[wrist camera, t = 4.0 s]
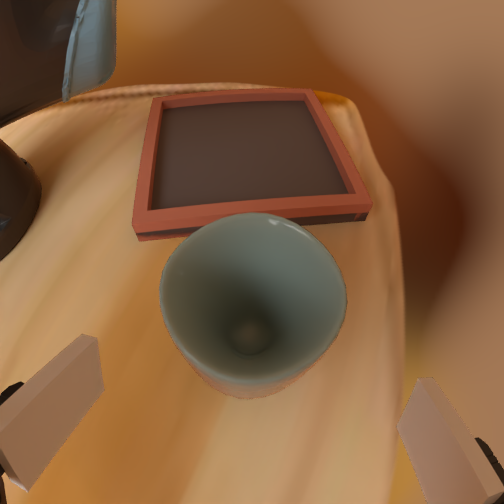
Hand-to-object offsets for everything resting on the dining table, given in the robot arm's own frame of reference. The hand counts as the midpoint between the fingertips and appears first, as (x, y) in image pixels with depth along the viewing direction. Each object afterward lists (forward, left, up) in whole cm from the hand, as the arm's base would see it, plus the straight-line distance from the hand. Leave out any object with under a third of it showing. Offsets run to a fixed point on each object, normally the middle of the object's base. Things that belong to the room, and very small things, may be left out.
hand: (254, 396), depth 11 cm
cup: (-4, +1, -9) cm, 10 cm away
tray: (-24, +3, -9) cm, 26 cm away
